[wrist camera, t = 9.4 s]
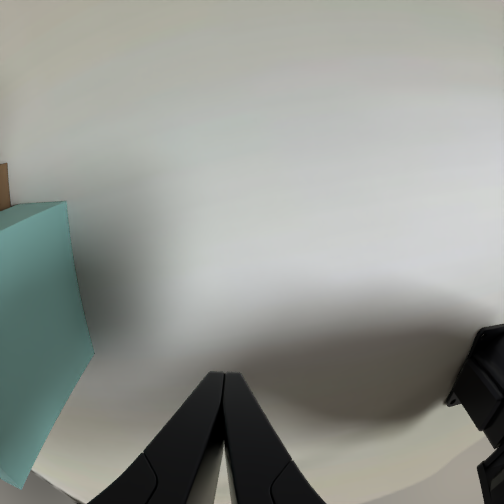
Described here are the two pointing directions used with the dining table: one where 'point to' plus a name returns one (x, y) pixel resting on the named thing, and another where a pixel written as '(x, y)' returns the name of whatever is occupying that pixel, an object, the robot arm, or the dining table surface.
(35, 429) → the slab
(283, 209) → the dining table surface
